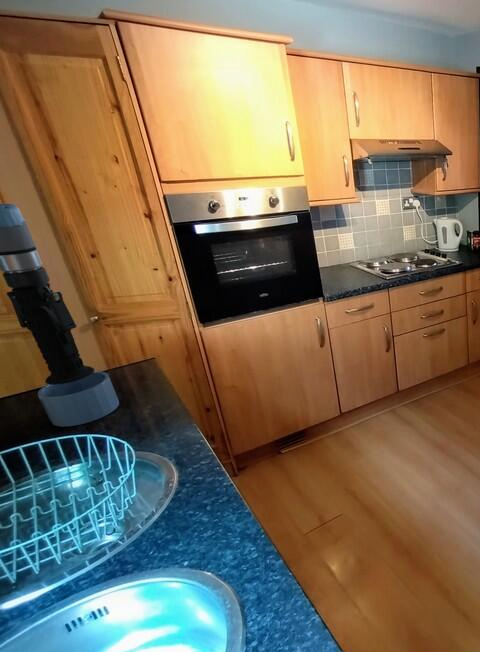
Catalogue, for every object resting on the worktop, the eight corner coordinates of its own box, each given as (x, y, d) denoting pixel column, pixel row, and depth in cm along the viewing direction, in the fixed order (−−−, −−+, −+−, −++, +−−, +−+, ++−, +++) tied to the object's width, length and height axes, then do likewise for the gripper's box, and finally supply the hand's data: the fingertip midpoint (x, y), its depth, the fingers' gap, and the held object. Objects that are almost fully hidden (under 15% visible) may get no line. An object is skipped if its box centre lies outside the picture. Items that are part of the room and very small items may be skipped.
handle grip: (99, 373, 124) (88, 363, 130) (61, 281, 114) (50, 275, 119) (51, 388, 117) (41, 377, 122) (5, 291, 106) (-4, 284, 112)
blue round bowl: (36, 423, 123) (22, 395, 119) (90, 396, 136) (79, 369, 132) (82, 429, 120) (68, 400, 117) (132, 400, 134) (121, 373, 130)
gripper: (72, 267, 113) (105, 349, 123) (8, 263, 116) (44, 344, 125) (39, 275, 106) (77, 361, 116) (-29, 271, 109) (13, 356, 119)
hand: (60, 352), depth 121 cm, fingers closed on handle grip, 7 cm apart
